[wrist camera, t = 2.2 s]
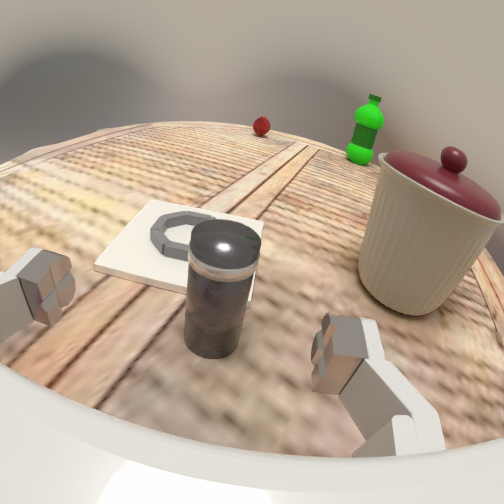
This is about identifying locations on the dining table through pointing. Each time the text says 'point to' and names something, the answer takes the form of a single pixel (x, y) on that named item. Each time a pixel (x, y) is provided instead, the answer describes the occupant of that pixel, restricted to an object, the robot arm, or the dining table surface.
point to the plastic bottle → (365, 131)
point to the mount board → (147, 257)
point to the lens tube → (218, 285)
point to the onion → (261, 126)
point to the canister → (424, 230)
